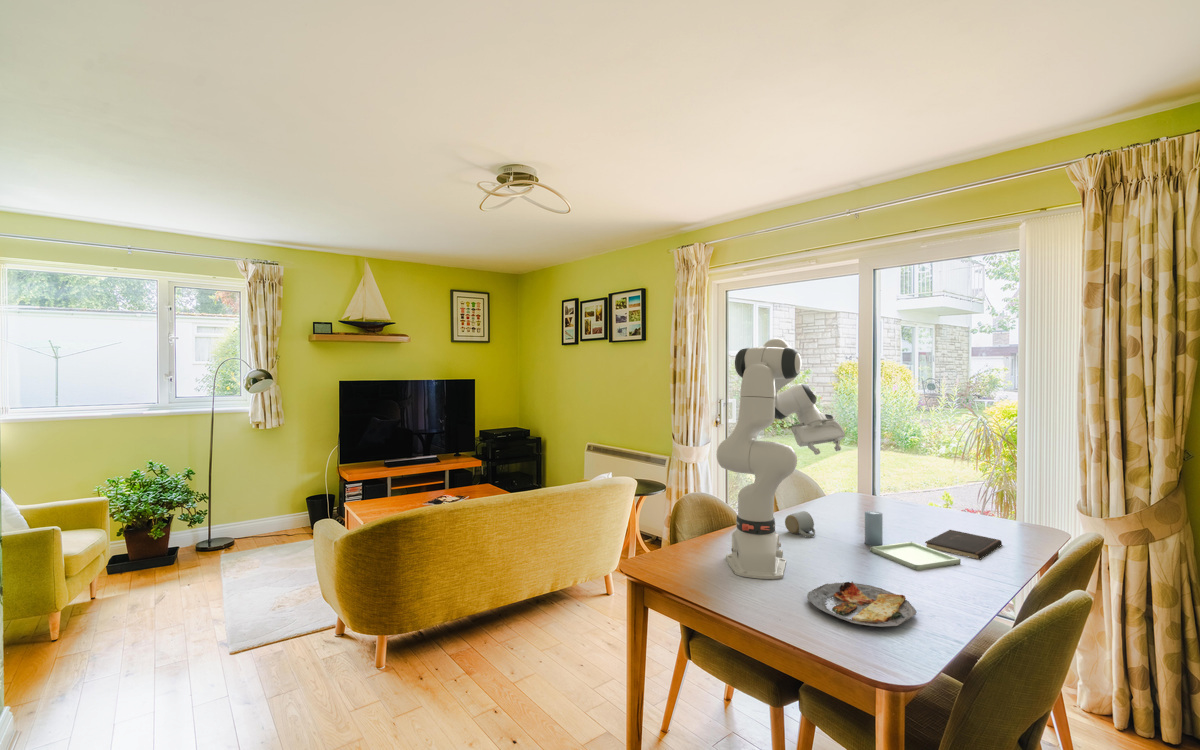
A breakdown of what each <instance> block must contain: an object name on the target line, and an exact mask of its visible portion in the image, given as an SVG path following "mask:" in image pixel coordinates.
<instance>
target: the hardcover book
mask: <svg viewBox="0 0 1200 750" xmlns="http://www.w3.org/2000/svg"><path fill="white" fill-rule="evenodd" d="M924 543H925V547H928V548H931V549H934V550H936V551H940V552H945V551H946V552H947V553H949V552H951V553H950V554H954V553H955V555H958V554H960V555H959V556H962V555H964V556H963V557H966V556H969V557H968V558H971V557H974V558H973V559H975V558H978V559H979V560H981V559H982V557H983V556H984V557H986V556H987V555H989V554H990V553H992V552H993V551H995V550H996V549H998V548H1000V547H1001V546H1002V545H1003V542H1002V540H1001V539H998V538H992V537H987V536H982V535H980V534H979V535H978V534H973V533H969V532H965V531H964V532H963V531H958V530H954V529H948V530H946V531H944V532H942V533H940V534H939V535H935V537H932V538H930V539H928V540H927V541H925V542H924ZM1000 545H1001V546H1000ZM999 546H1000V547H999ZM997 547H998V548H997ZM994 549H995V550H994ZM991 551H992V552H991ZM989 552H990V553H989ZM988 553H989V554H988ZM986 554H987V555H986ZM985 555H986V556H985ZM984 557H983V558H984ZM980 558H981V559H980ZM978 559H977V560H978Z"/></svg>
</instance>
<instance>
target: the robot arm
mask: <svg viewBox="0 0 1200 750" xmlns="http://www.w3.org/2000/svg"><path fill="white" fill-rule="evenodd" d="M802 361H803V360H802V358H801V353H800V352H799V351H798V350H797V348H795V347H794V348H792V347H791V346H790V344H789V343H788V342H787V341H785V339H782V338H772V339H769V340H767V341H766V342H765V343H764V344H763V346H758V347H751V348H750V347H746V348H741V349H739V351H738V352H737V353H736V354H735V358H734V367H735V368H734V369H735V371H736V373H737V375H738V376H739V377H740V378H742V380H741V385H740V394H739V410H738V418H737V419H738V420H737V421H736V425H735V427H734V429H733V431H732V432H731V434H730V435H729V436H728V437H727V438H725V439H724V440H722V441H721V442H720V443H719V445H718V447H717V449H716V460H717V463H718V464H719V466H720V467H721V468H722V469H724V470H727V471H730V472H733V473H738V474H746V475H747V474H749V475H754V480H753V481H754V482H753V483H751V484H748V485H745V486H743V487H742V488H741V489H740V490H739V492H738V494H737V515H736V519H735V522H736V529H734V531H732V533H731V553H727V554H726V555H725V559H726V562H727V564H728V565H729V566H730V568H731V570H732V572H733V573H734V574H735V575H737V576H739V577H745V578H749V579H750V578H752V579H761V580H777V579H778V580H779V579H783V578H784V576H785V571H786V566H787V559H786V558H784V555H783V554H784V553H783V552H784V551H783V550H782V549H780V548H782V542H780V535H779V534H778V533H777V532H776V520H775V517H774V507H775V506H774V505H775V497H776V495H775V494H776V492H777V489H778V487H779V486H780V484H781V483H782V481H784V480H785V479H786V478H788V477H790V476H791V475H792V474H793V473H794V472H795V471H796V468H797V464H798V457H797V454H796V451H795V449H794V448H793V446H791V445H789V444H786V443H785V444H784V443H781V442H778V441H765V440H757V437H758V434H759V433H760V432H761V431H763V430H766V429H768V428H769V427H771V426H772V425H773V423H774V422H775V420H781V421H782V420H783V419H786V418H787V417H789V416H791V415H793V414H795V415H796V416H797V420H798V422H799V423H797V424H796V423H795V424H792V426H791V430H790V431H792V434H793V436H794V439H795V442H796V444H797V445H798V446H799V447H800V448H801V447H808V449H809V450H811V451H812V452H813V454H814V455H815V456H816V455H820V454H821V451H820V449H819V448H817V447H816V446H815V445H819V444H825V443H833V444H834V448H833V449H834V451H836V452H839V451H841V450H842V447H841V445H840V443H841V441H842V440H843V439H844V438H845V437H846V432H845V431H844V429H843V427H842V426H841V424H840V422H838V421H837V420H836V416H835V415H834V414H830V413H825V412H820V410H819V409H818V408H817V406H816V402H817V396H816V395H815V394H814V392H813V390H812V387H811V385H809V384H807V383H802V382H800V383H797V384H796V385H793V386H790V387H789V388H788V389H785V390H783V391H780V390H781V389H782V388H783V387H785V386H786V385H788V384H789V383H791V382H792V381H794V380H795V379H796V378H797V377H798V375H799V374H800V372H801V368H802ZM779 391H780V392H779Z"/></svg>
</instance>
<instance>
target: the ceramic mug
mask: <svg viewBox="0 0 1200 750" xmlns="http://www.w3.org/2000/svg"><path fill="white" fill-rule="evenodd" d="M784 524H785V528H786V530H787V531H788V532H789V533H790V532H791V534H793V533H794V534H793V535H797V534H798V533H799V535H801V536H803V537H805V536H806V537H805V538H814V537H815V535H816V530H815V528H814V527H815V522H814V519H813V517H812V515H811V514H810V513H809V512H807V511H804V510H802V511H797V512H795V513H791V514H789V515H787V516H786V517H785V519H784ZM810 532H812V533H810ZM813 536H814V537H813Z"/></svg>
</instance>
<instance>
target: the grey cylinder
mask: <svg viewBox="0 0 1200 750" xmlns="http://www.w3.org/2000/svg"><path fill="white" fill-rule="evenodd" d="M883 518H884V517H883V513H882V512H880V511H876V510H875V511H874V510H865V511H864V544H865V543H866V544H865V545H867V546H870V545H871V546H870V547H874V546H882V545H884V544H883V542H884V541H883V540H884V539H883V534H884V533H883V532H884V531H883V526H884V525H883V524H884V523H883V522H884V521H883Z"/></svg>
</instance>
